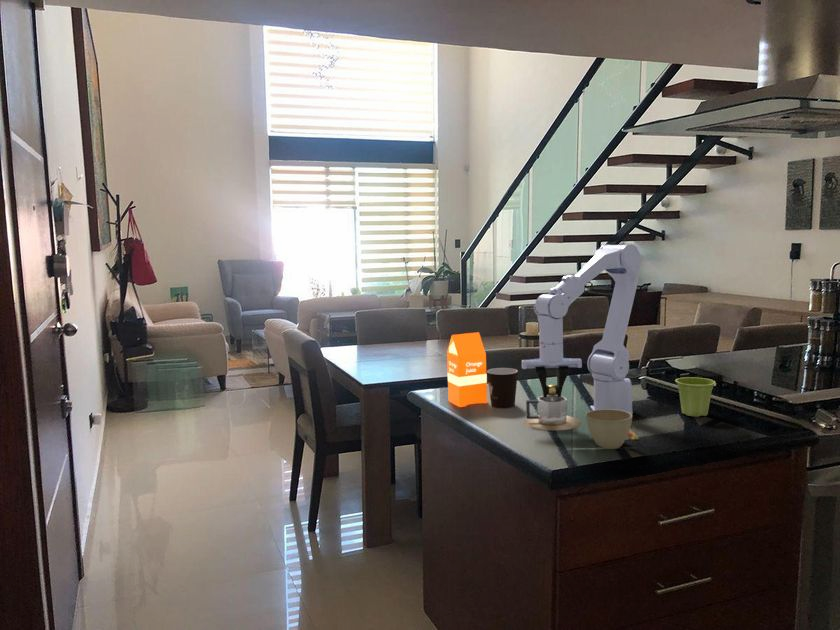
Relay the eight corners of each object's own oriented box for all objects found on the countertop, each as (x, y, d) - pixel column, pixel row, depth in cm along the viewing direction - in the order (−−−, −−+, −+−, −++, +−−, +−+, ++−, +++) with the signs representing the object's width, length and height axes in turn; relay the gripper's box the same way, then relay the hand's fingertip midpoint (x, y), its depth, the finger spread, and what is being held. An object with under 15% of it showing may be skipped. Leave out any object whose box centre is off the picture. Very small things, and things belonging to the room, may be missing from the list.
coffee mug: (517, 410, 178) (516, 374, 177) (485, 410, 180) (485, 374, 179) (519, 399, 189) (519, 365, 188) (490, 399, 191) (489, 365, 190)
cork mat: (575, 415, 172) (575, 413, 172) (585, 431, 158) (585, 429, 158) (521, 416, 173) (521, 414, 173) (527, 432, 159) (527, 430, 159)
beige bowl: (623, 437, 152) (623, 407, 151) (639, 452, 142) (639, 419, 141) (580, 439, 152) (580, 409, 151) (593, 454, 142) (593, 421, 141)
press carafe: (564, 417, 168) (563, 394, 168) (568, 425, 161) (568, 401, 161) (525, 418, 169) (525, 395, 168) (528, 426, 162) (527, 402, 161)
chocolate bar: (622, 427, 161) (622, 418, 161) (640, 442, 149) (640, 433, 149) (612, 427, 161) (612, 418, 161) (629, 443, 149) (629, 433, 149)
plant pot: (678, 407, 175) (678, 375, 174) (717, 411, 170) (717, 378, 169) (671, 416, 167) (672, 383, 166) (712, 420, 162) (712, 386, 161)
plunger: (561, 408, 167) (560, 383, 166) (564, 413, 162) (563, 387, 161) (540, 408, 168) (540, 383, 167) (543, 414, 162) (542, 388, 162)
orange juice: (487, 403, 187) (485, 333, 185) (459, 407, 184) (457, 336, 182) (475, 397, 195) (473, 330, 192) (448, 401, 191) (445, 333, 189)
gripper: (523, 346, 159) (524, 400, 161) (583, 344, 158) (584, 399, 160) (520, 341, 166) (521, 393, 168) (578, 339, 165) (579, 392, 167)
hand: (551, 396), depth 164 cm, fingers closed on plunger, 3 cm apart
